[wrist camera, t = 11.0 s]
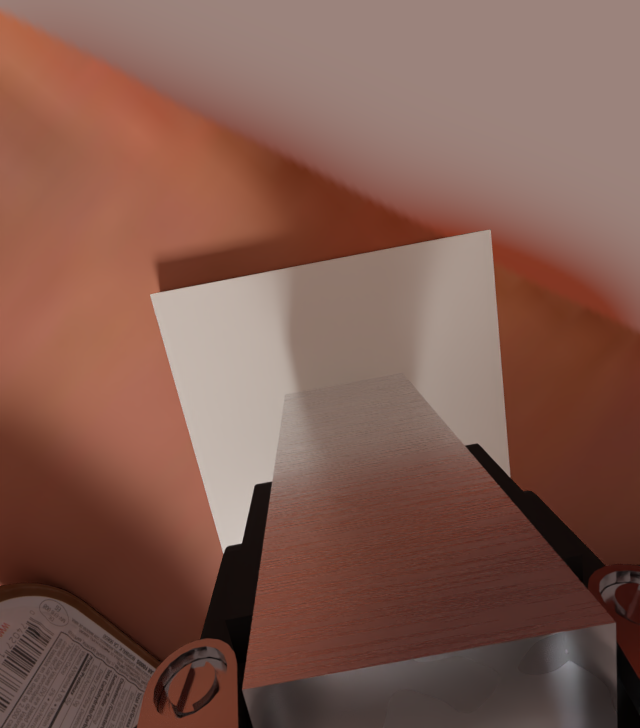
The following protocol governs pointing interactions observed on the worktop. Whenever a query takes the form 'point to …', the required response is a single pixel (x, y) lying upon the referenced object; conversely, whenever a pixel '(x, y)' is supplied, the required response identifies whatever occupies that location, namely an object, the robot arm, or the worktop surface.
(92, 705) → the tin
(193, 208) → the worktop surface
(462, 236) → the pad
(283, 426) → the steel block
